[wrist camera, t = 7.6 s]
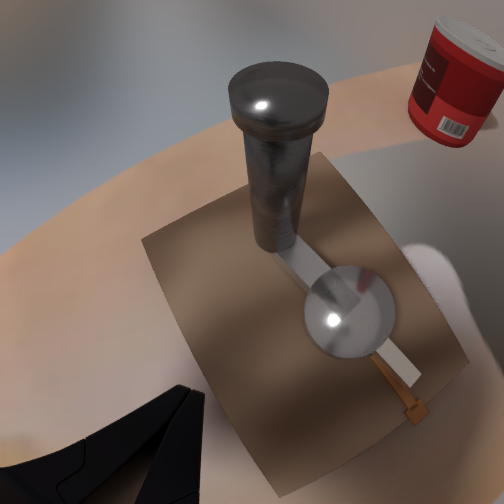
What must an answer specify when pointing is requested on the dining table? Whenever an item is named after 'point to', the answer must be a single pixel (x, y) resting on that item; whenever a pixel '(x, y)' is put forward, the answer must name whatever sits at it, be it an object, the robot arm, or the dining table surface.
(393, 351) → the crank handle
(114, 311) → the dining table surface
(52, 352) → the dining table surface
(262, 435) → the stand
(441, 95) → the canned food
